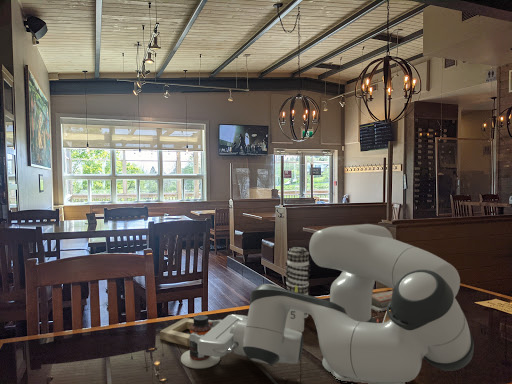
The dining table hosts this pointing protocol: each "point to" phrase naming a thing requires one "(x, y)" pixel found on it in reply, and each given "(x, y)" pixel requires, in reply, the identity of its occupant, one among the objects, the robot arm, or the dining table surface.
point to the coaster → (197, 364)
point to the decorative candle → (298, 271)
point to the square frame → (177, 332)
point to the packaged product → (381, 301)
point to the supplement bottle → (201, 328)
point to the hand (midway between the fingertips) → (199, 329)
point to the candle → (295, 319)
